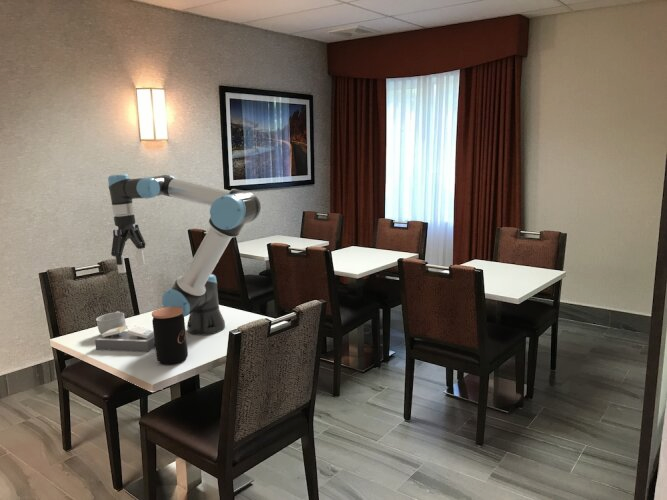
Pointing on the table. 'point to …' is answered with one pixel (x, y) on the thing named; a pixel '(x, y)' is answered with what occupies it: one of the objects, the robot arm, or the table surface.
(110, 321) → the teacup
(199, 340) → the table surface
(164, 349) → the coffee jar
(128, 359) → the table surface
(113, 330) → the rocker amber
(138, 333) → the white flat packet
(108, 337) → the power strip
